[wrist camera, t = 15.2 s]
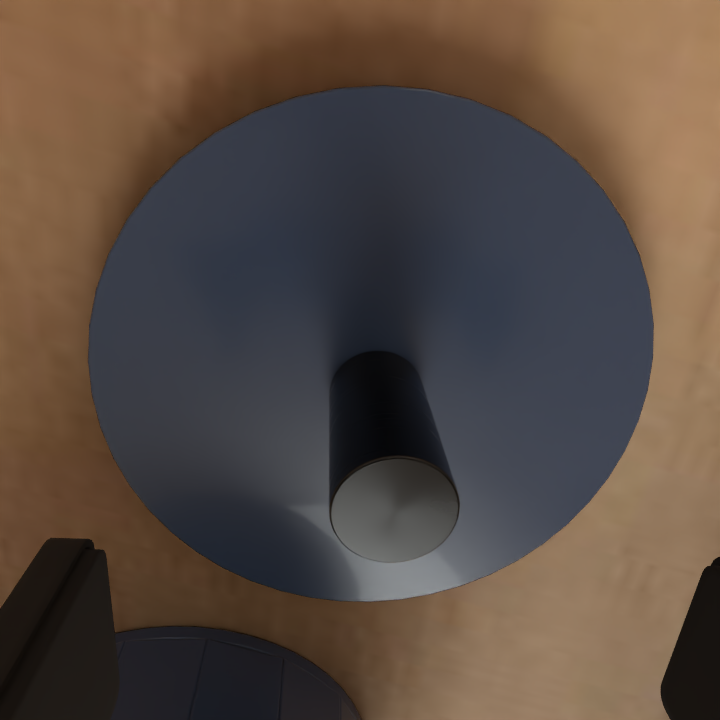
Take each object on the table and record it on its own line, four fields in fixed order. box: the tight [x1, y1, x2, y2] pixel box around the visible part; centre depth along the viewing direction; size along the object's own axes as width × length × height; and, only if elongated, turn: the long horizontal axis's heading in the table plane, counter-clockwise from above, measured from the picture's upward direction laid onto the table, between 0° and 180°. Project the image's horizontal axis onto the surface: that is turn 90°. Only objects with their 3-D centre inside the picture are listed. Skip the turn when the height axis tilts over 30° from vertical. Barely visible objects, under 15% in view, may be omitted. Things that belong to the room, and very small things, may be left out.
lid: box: [88, 85, 654, 602], centre depth 14 cm, size 14×14×6 cm
